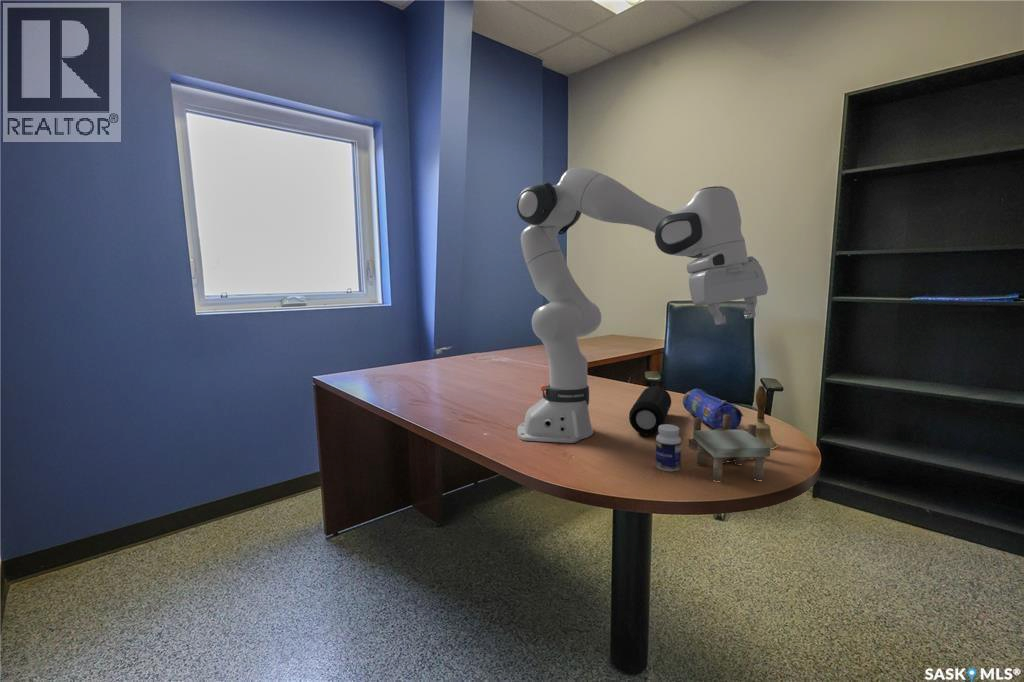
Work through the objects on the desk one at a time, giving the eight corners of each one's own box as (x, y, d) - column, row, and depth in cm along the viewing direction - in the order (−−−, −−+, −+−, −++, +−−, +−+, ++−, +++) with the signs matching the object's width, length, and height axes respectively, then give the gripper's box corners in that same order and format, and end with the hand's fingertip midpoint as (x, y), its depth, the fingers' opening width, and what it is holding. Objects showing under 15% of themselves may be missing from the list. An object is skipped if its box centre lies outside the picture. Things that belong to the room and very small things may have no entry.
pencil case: (743, 435, 128) (745, 402, 127) (714, 436, 127) (715, 404, 126) (705, 412, 150) (706, 384, 148) (680, 413, 149) (681, 385, 148)
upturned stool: (718, 463, 109) (719, 431, 108) (688, 446, 120) (689, 417, 119) (760, 457, 111) (761, 426, 110) (726, 441, 123) (727, 413, 122)
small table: (713, 483, 98) (714, 448, 97) (692, 461, 110) (693, 430, 109) (768, 482, 98) (770, 447, 97) (742, 460, 110) (743, 429, 109)
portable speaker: (663, 440, 125) (663, 405, 124) (627, 436, 130) (627, 402, 128) (671, 414, 148) (672, 385, 147) (640, 411, 153) (641, 383, 151)
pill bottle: (650, 467, 107) (651, 427, 106) (662, 460, 111) (663, 421, 110) (673, 474, 103) (674, 432, 102) (684, 466, 107) (685, 426, 106)
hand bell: (759, 451, 115) (762, 391, 113) (735, 441, 123) (737, 384, 121) (785, 447, 118) (788, 388, 116) (759, 437, 126) (762, 381, 123)
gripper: (744, 259, 106) (754, 316, 106) (680, 266, 98) (691, 329, 98) (769, 252, 100) (780, 313, 100) (703, 259, 92) (715, 326, 92)
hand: (735, 321), depth 99 cm, fingers open, 8 cm apart
